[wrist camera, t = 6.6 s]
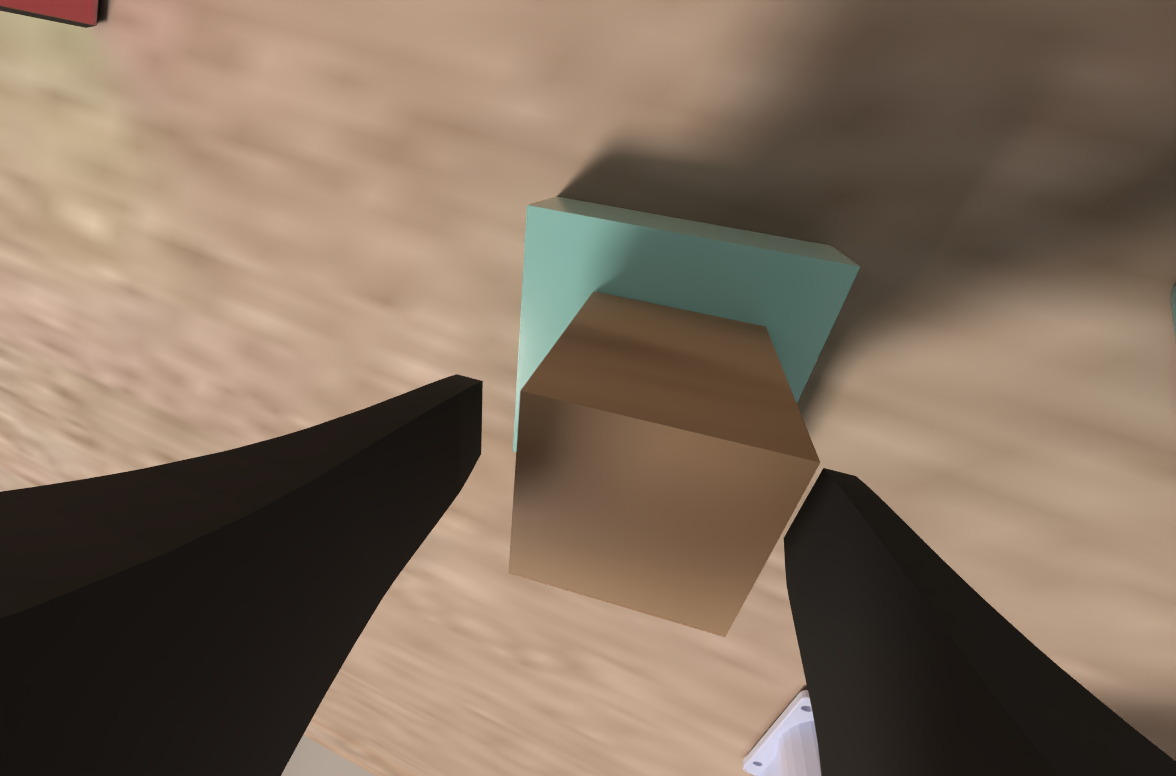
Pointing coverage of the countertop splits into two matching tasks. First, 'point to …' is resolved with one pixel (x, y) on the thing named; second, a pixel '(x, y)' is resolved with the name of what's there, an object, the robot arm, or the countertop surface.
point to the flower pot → (1174, 306)
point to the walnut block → (657, 461)
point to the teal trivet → (676, 278)
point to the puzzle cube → (56, 10)
